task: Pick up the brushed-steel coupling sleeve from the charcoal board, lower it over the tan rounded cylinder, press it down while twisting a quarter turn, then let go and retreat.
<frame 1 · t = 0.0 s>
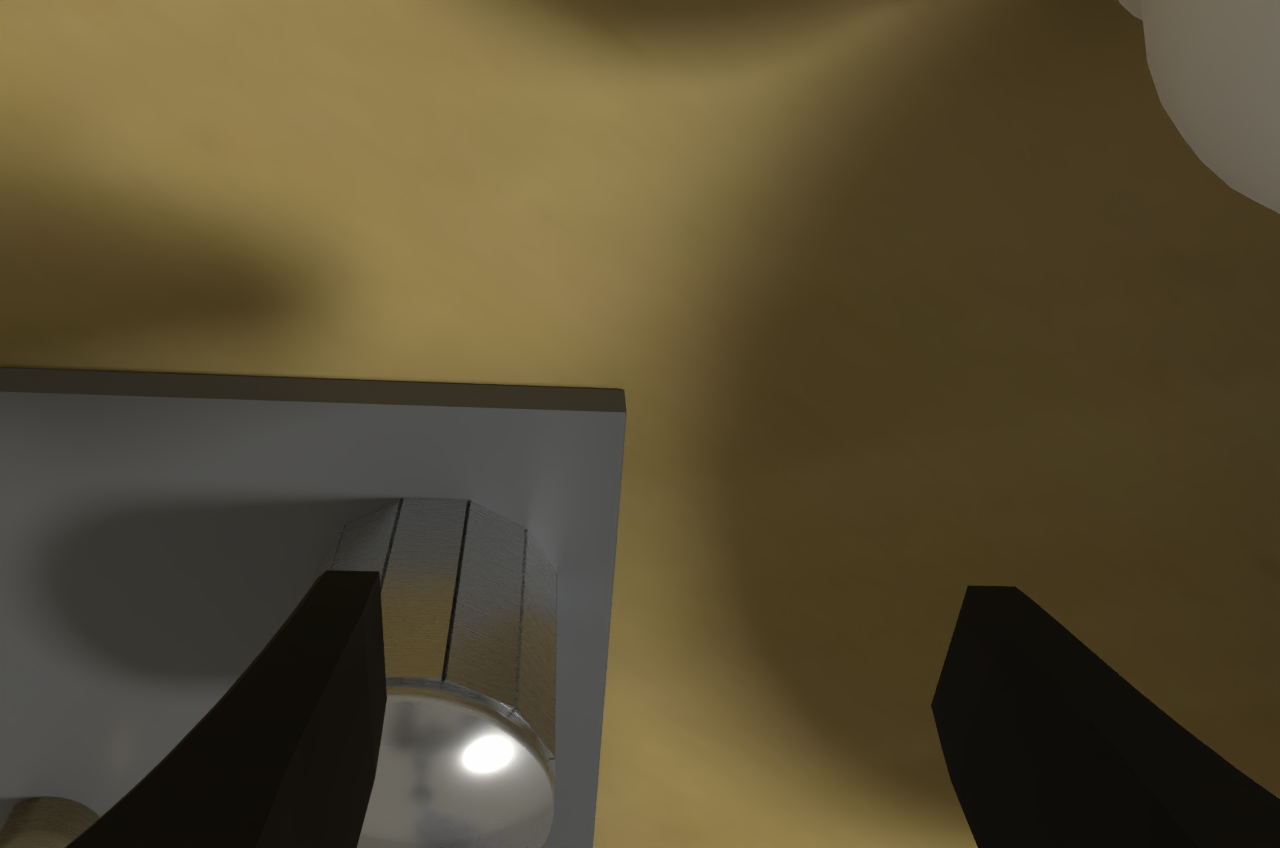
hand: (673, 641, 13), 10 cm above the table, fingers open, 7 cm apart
base board: (211, 716, 26), on the table
tan rounded cylinder: (73, 796, 27), resting on base board
coupling: (438, 595, 23), point 1 cm above the table, touching base board
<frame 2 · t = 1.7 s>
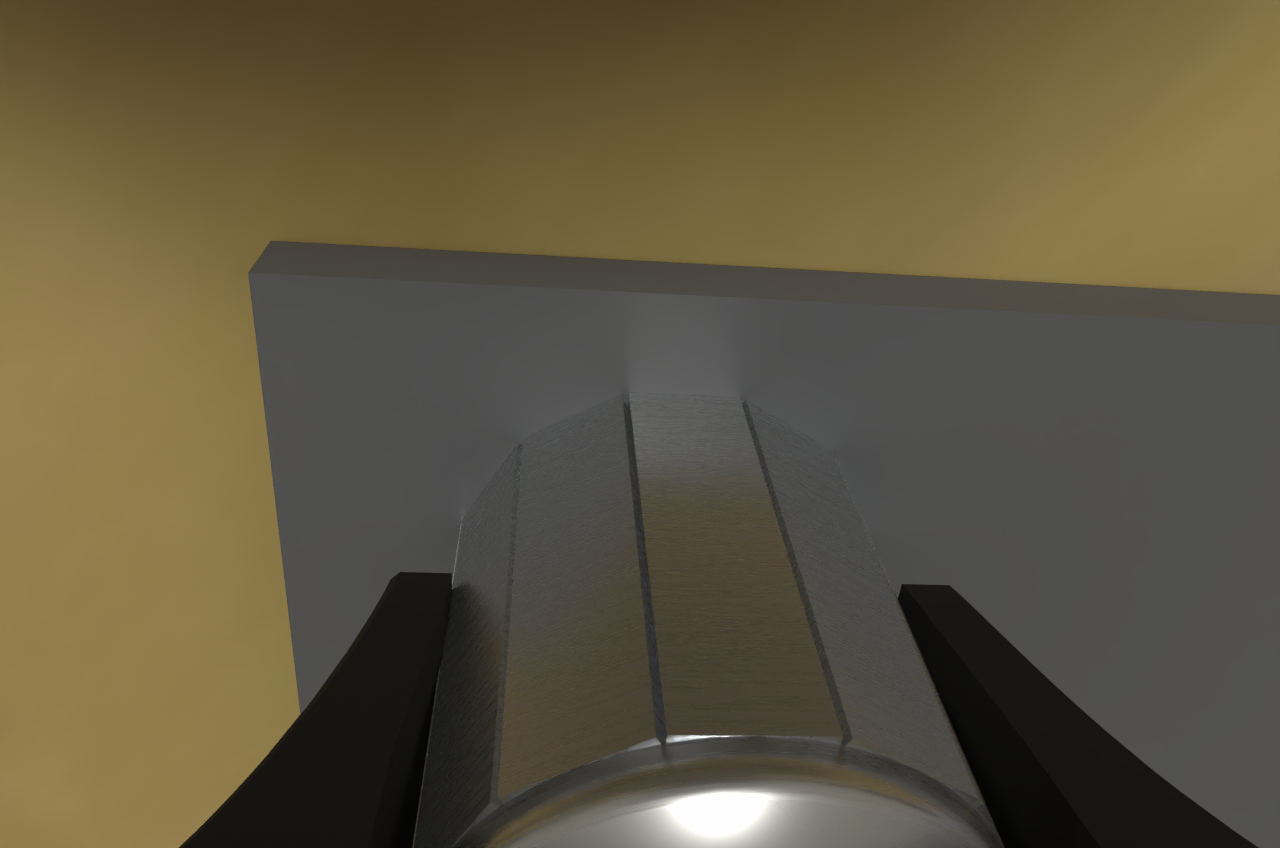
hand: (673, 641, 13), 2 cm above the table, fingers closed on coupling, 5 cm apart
base board: (907, 808, 18), on the table
coupling: (663, 569, 14), point 1 cm above the table, touching base board, gripper
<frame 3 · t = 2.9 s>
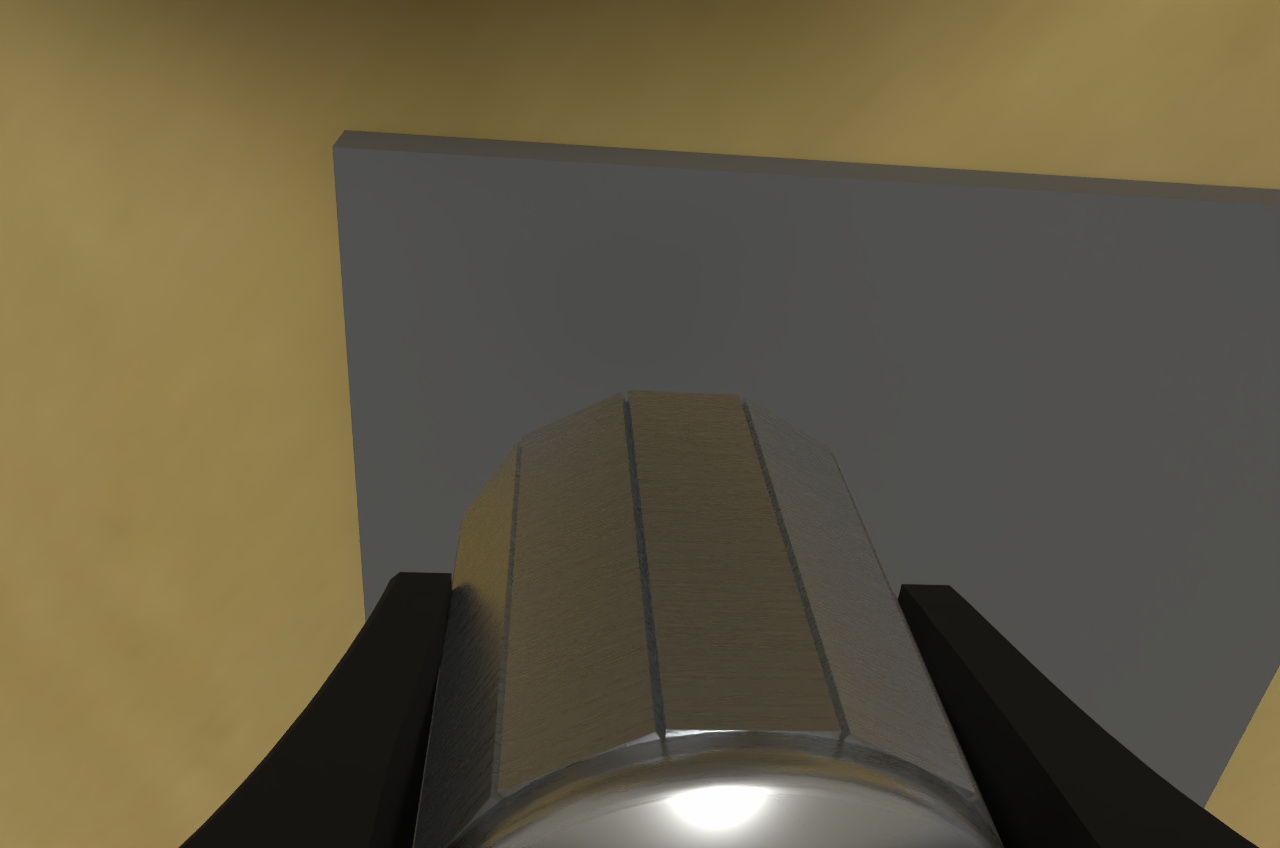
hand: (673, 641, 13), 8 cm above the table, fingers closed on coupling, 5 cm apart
base board: (836, 615, 23), on the table
coupling: (663, 567, 14), point 6 cm above the table, touching gripper
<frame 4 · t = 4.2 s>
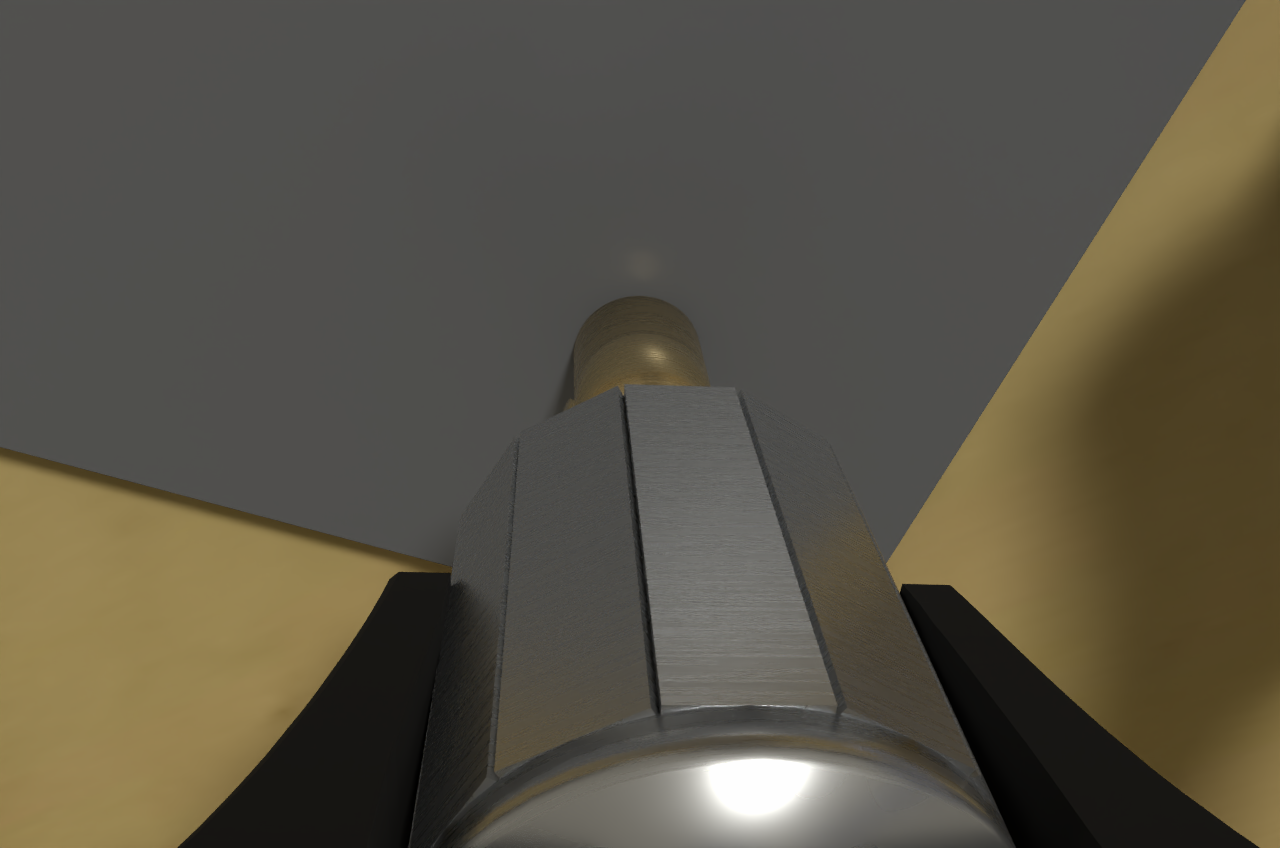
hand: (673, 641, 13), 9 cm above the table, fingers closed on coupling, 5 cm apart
base board: (558, 80, 18), on the table
tan rounded cylinder: (634, 331, 20), resting on base board
coupling: (663, 564, 14), point 7 cm above the table, touching gripper
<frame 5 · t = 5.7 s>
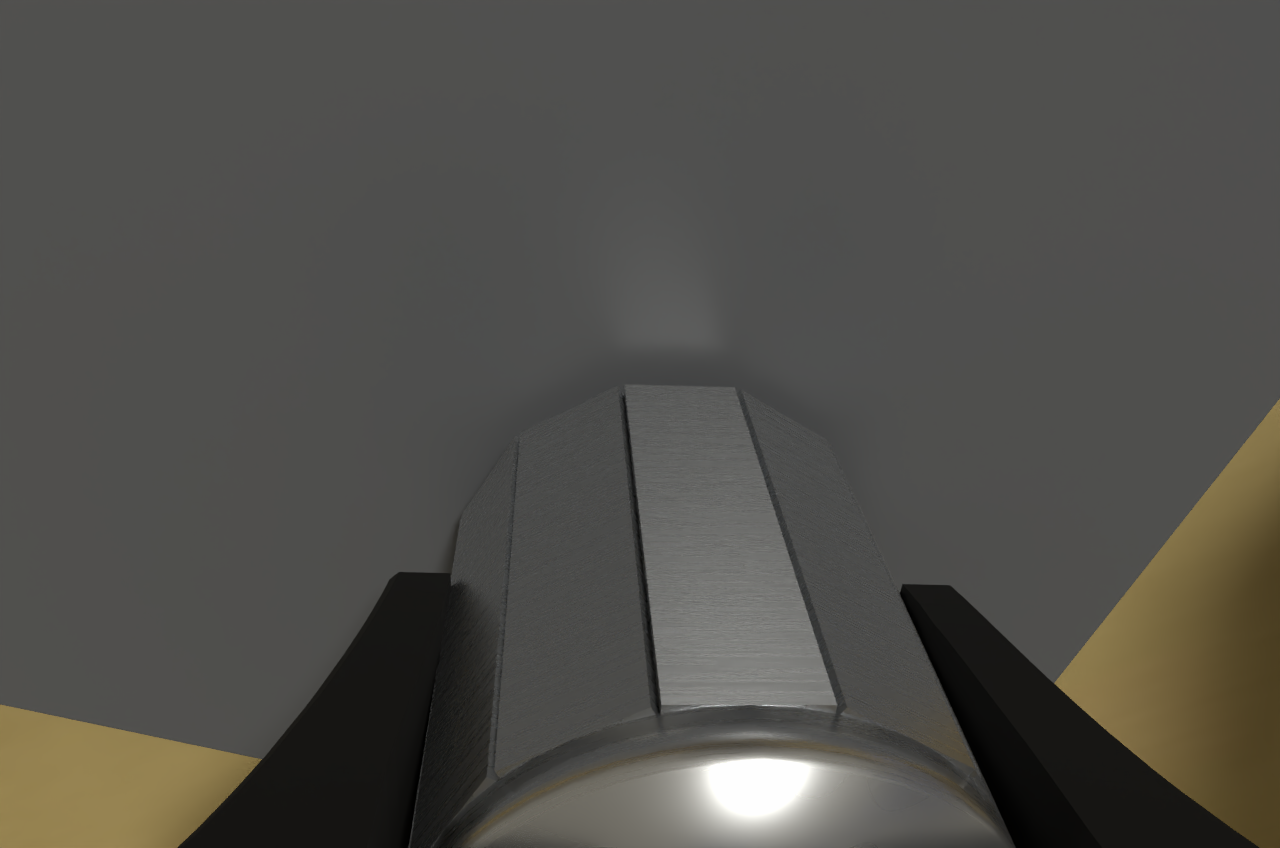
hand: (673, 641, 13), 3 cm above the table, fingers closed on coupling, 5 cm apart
base board: (554, 182, 13), on the table
coupling: (663, 564, 14), point 2 cm above the table, touching gripper
when the fingers open (2 cm above the table, at t = 6.6 s): coupling stays where it is, resting on base board.
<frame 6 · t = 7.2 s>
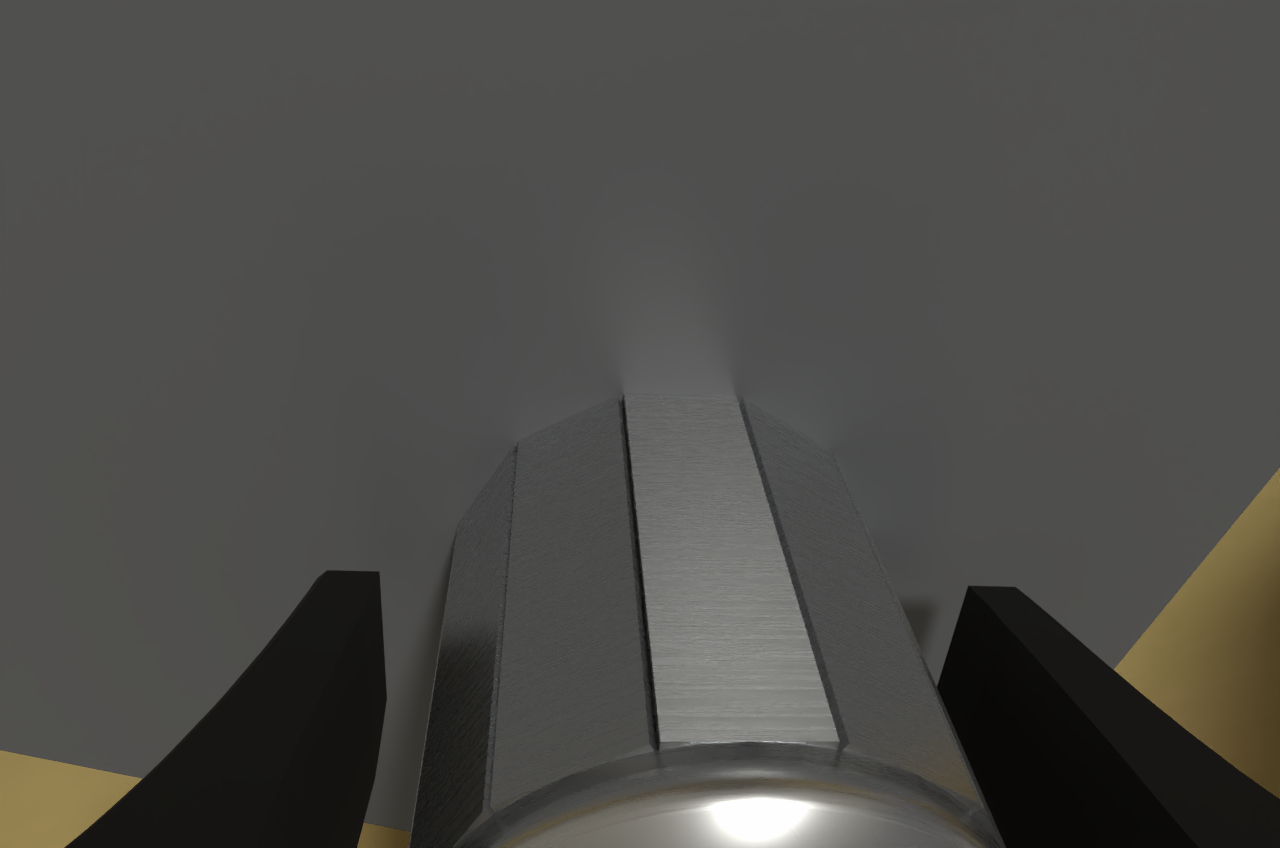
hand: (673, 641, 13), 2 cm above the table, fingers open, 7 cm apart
base board: (552, 202, 12), on the table
coupling: (662, 571, 14), point 1 cm above the table, touching base board
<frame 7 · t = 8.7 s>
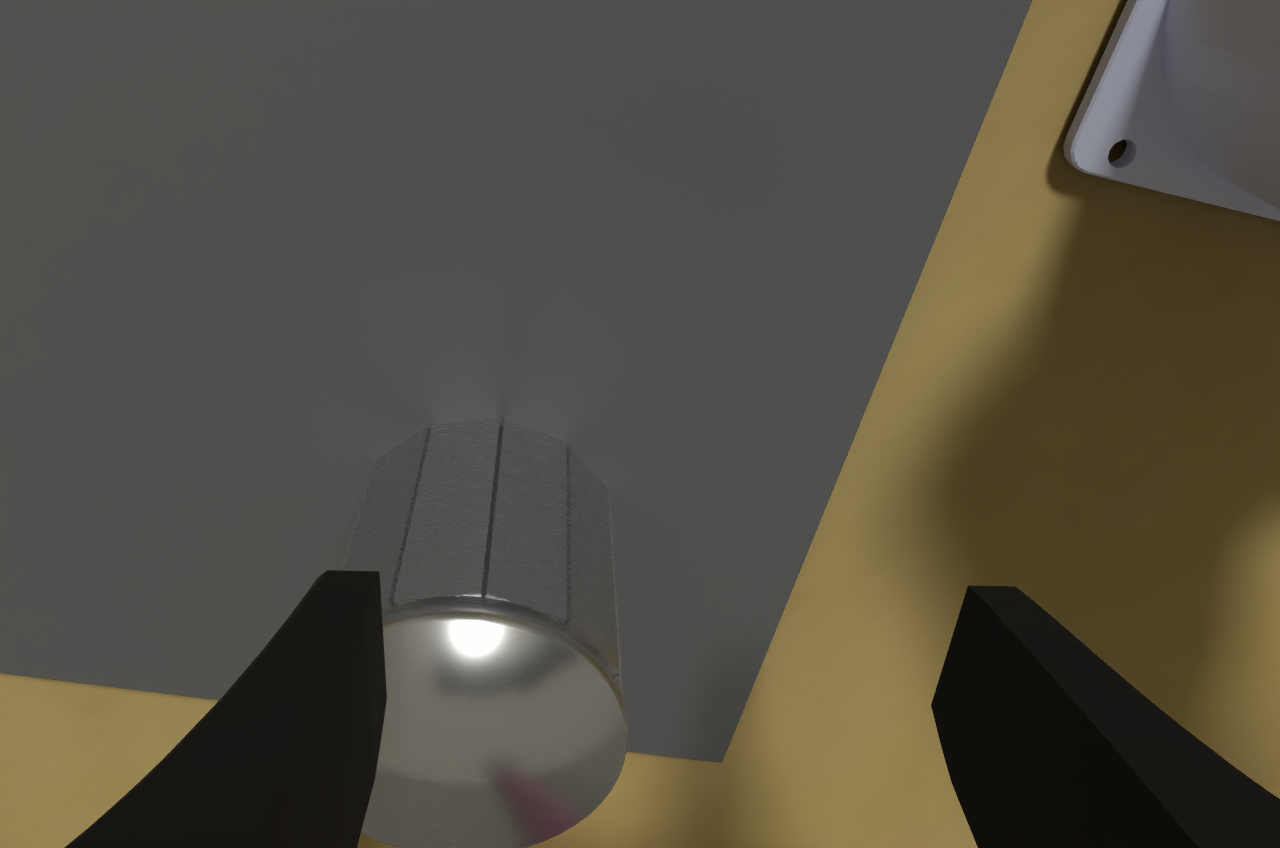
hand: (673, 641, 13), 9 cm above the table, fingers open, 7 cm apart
base board: (374, 317, 20), on the table
coupling: (485, 529, 22), point 1 cm above the table, touching base board
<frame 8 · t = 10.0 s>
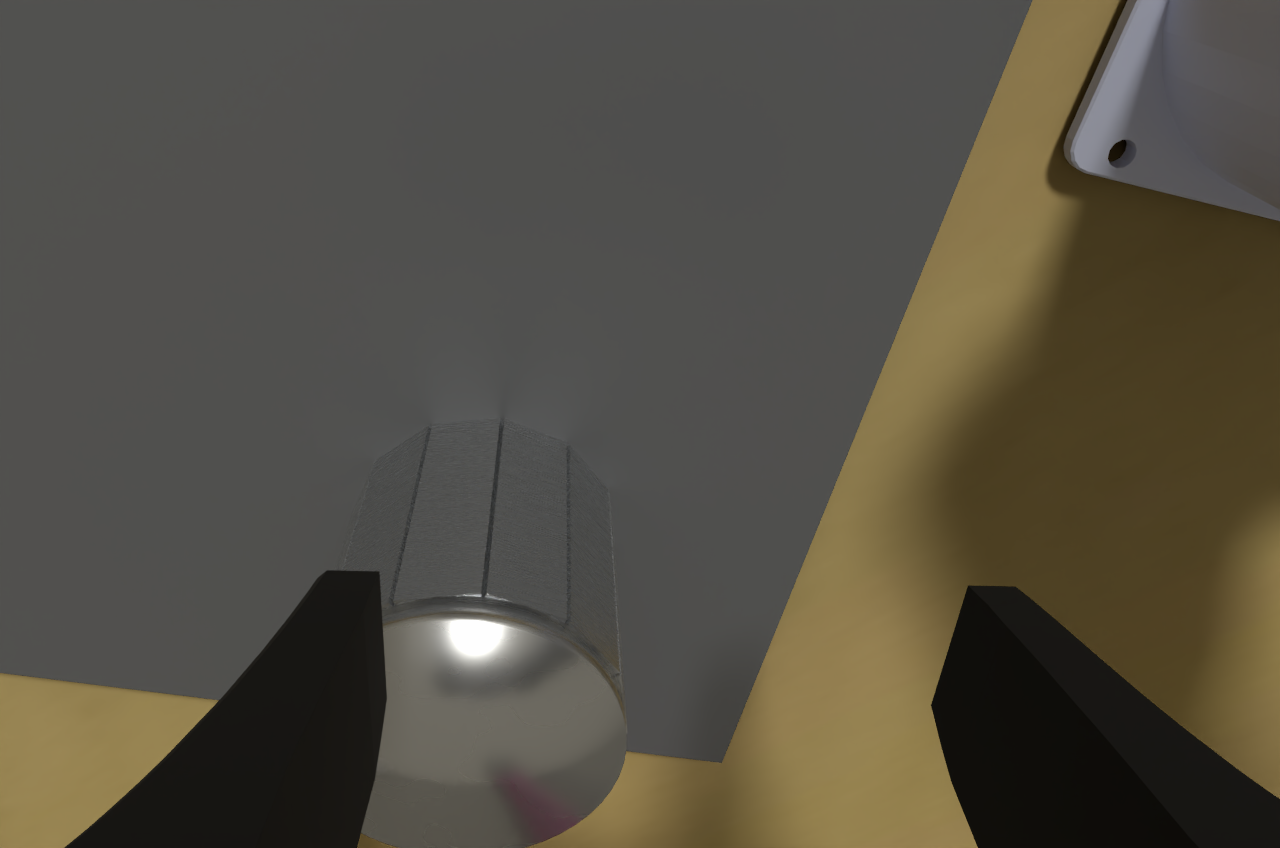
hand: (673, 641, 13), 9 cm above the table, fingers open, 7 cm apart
base board: (374, 317, 20), on the table
coupling: (485, 529, 22), point 1 cm above the table, touching base board
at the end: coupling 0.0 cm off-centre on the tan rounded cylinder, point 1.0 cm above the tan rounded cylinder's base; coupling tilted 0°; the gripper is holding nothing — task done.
